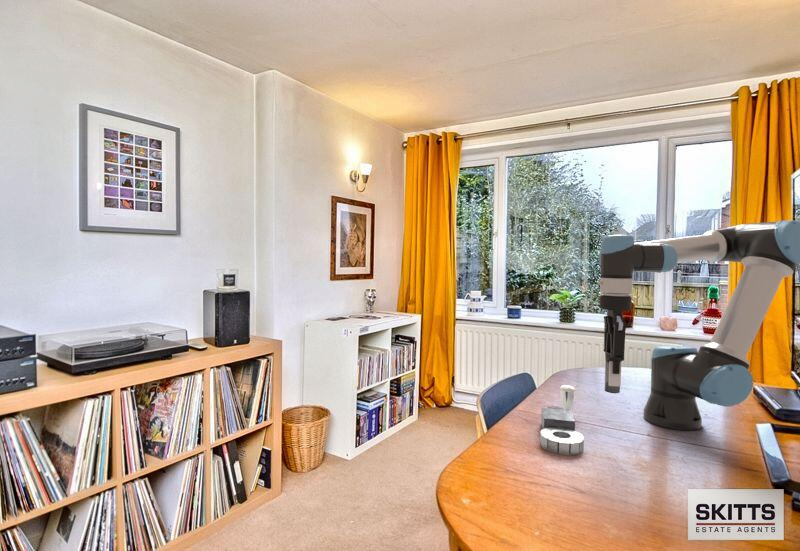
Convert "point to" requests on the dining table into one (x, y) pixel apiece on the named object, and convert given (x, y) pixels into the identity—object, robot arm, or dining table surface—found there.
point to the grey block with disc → (560, 432)
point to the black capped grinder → (608, 388)
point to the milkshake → (567, 397)
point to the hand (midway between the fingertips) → (612, 383)
